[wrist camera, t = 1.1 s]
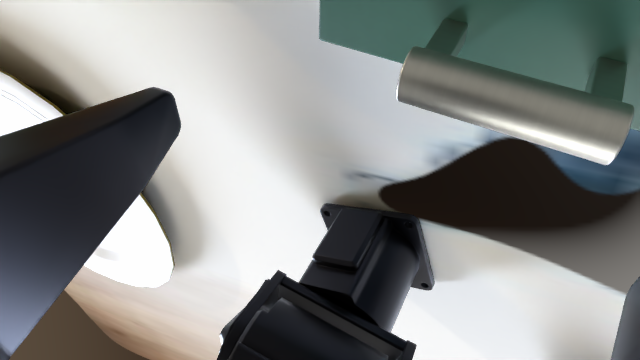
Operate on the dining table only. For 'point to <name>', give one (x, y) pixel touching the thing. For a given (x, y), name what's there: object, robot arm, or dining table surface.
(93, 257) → the plate
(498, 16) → the lid
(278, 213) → the dining table surface
